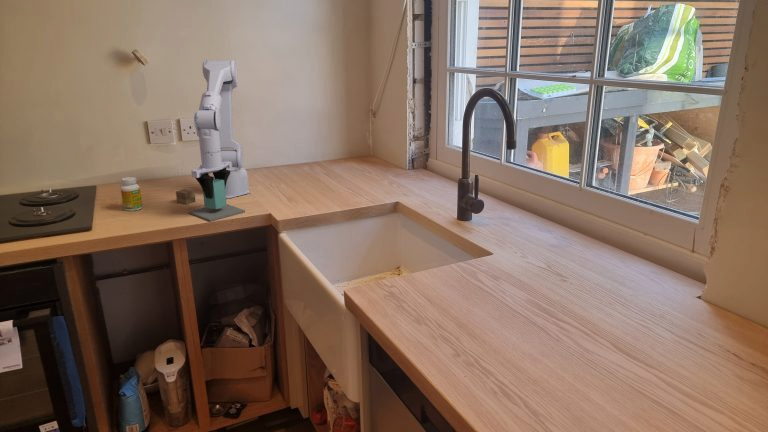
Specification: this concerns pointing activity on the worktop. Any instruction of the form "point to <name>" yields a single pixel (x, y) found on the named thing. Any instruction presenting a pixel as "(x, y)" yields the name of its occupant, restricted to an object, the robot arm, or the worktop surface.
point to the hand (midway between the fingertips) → (215, 195)
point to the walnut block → (185, 196)
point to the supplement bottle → (131, 194)
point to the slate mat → (216, 212)
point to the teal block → (216, 195)
